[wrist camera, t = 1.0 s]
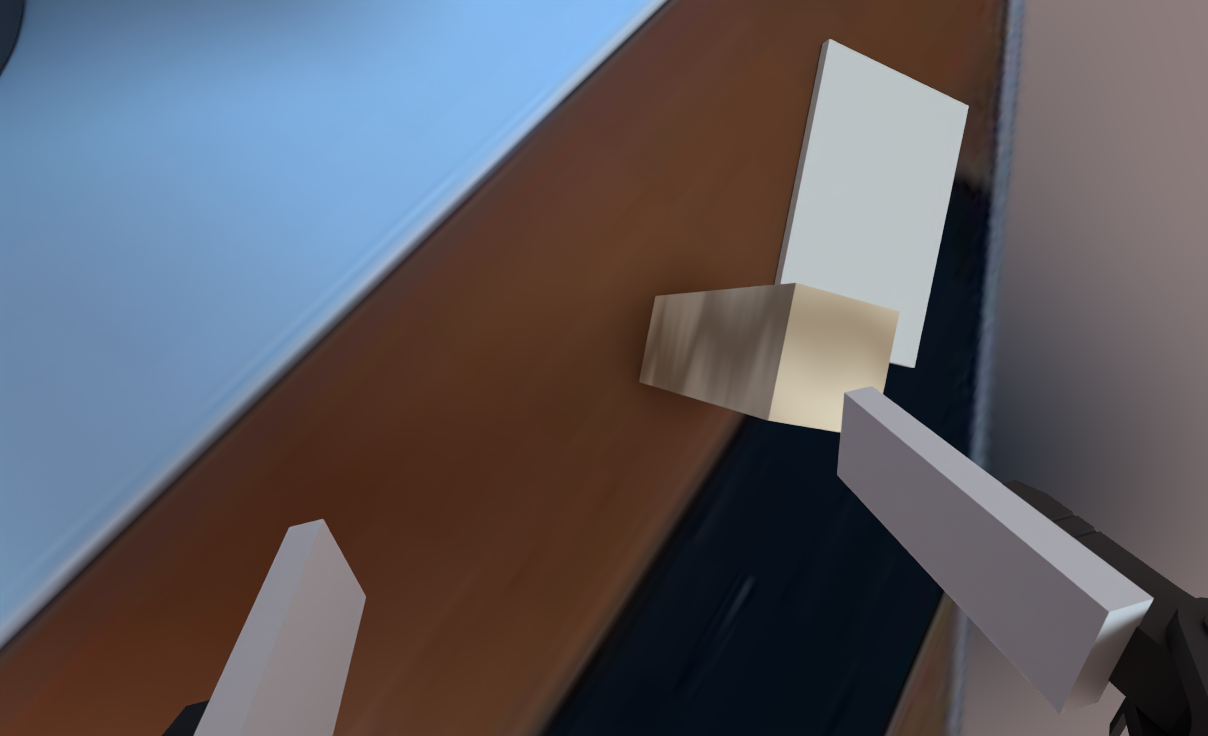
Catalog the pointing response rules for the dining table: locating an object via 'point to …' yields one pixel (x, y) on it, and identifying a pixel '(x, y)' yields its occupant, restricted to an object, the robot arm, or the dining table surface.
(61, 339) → the dining table surface
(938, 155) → the rubber mat
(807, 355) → the birch block
